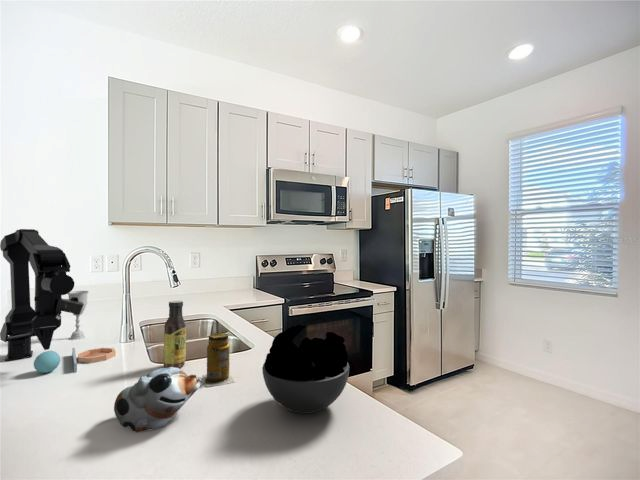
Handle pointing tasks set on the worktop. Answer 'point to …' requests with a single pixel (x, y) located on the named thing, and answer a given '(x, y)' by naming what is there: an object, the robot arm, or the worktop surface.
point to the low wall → (74, 359)
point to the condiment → (218, 360)
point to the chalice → (81, 298)
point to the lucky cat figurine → (155, 398)
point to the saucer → (96, 355)
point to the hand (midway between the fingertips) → (47, 345)
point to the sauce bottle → (174, 337)
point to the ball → (47, 361)
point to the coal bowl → (306, 370)
